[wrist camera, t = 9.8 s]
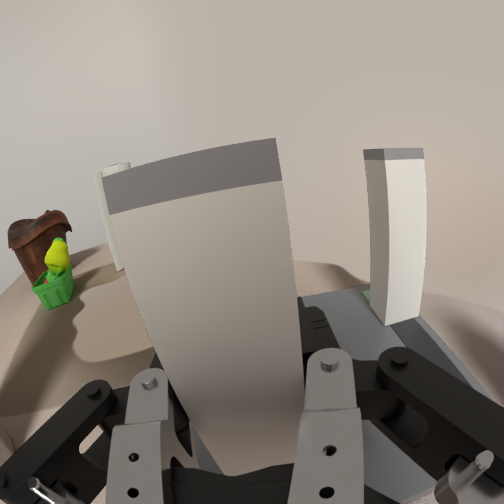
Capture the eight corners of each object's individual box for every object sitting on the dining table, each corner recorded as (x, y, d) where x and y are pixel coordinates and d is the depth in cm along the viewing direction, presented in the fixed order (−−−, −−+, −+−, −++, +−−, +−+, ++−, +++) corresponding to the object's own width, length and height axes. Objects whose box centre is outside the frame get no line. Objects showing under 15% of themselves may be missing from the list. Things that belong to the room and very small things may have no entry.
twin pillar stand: (136, 525, 8) (-78, 273, 3) (188, 329, 28) (150, 182, 23) (500, 448, 7) (602, 171, 2) (383, 296, 28) (379, 149, 23)
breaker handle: (235, 489, 9) (101, 177, 5) (236, 437, 12) (155, 170, 8) (308, 482, 9) (275, 137, 5) (299, 430, 12) (264, 148, 8)
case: (82, 272, 55) (62, 200, 50) (17, 299, 45) (-6, 228, 40) (83, 259, 70) (67, 202, 64) (29, 280, 60) (12, 223, 54)
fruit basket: (50, 293, 46) (33, 244, 42) (84, 281, 50) (68, 231, 46) (41, 315, 36) (18, 256, 33) (80, 301, 40) (59, 240, 36)
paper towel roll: (157, 259, 56) (135, 160, 49) (143, 270, 50) (117, 162, 43) (132, 261, 57) (110, 169, 51) (117, 272, 52) (92, 172, 45)
